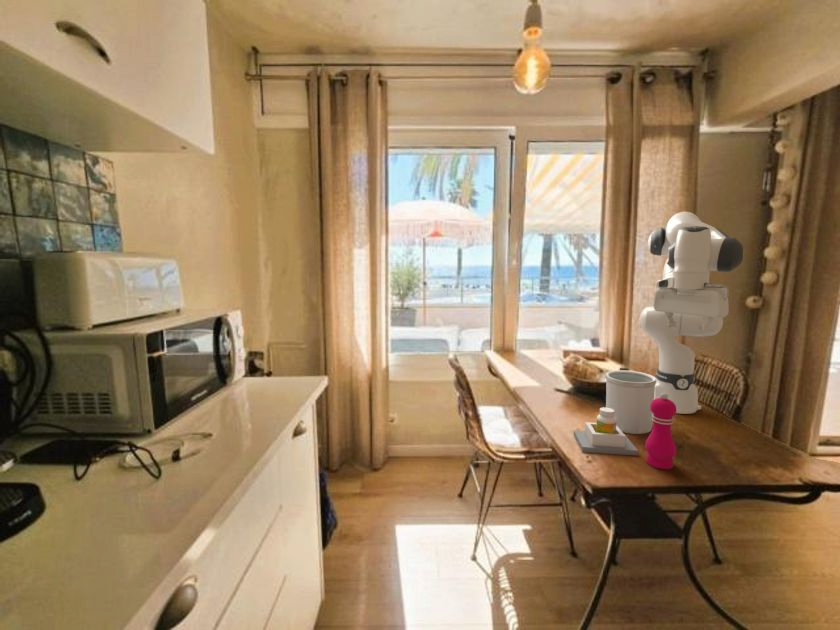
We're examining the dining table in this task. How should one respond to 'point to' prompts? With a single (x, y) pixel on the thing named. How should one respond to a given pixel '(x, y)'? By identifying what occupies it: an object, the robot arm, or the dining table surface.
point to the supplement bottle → (606, 421)
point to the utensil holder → (631, 399)
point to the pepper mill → (661, 434)
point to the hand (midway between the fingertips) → (686, 329)
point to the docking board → (604, 441)
